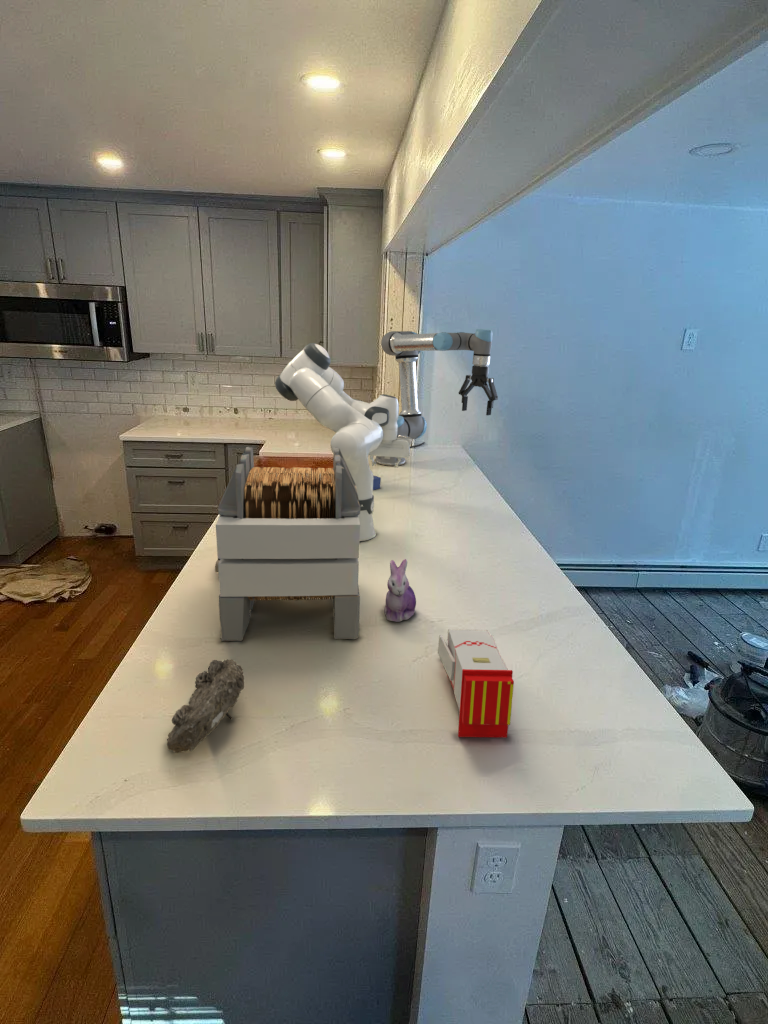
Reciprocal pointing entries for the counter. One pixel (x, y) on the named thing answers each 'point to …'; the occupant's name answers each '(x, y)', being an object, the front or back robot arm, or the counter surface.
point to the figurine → (399, 594)
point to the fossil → (206, 705)
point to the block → (376, 482)
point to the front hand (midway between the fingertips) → (385, 466)
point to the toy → (478, 682)
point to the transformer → (288, 542)
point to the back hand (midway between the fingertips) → (476, 412)
